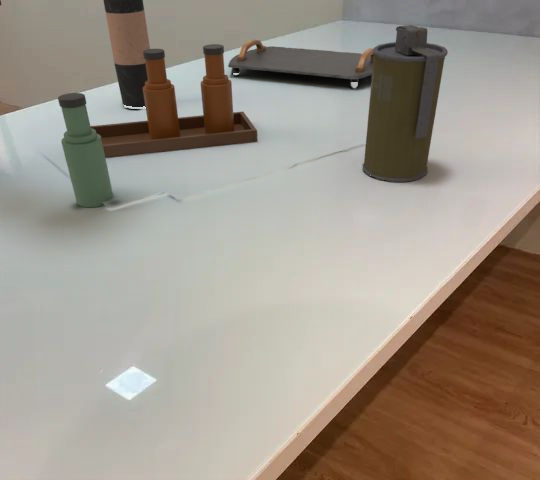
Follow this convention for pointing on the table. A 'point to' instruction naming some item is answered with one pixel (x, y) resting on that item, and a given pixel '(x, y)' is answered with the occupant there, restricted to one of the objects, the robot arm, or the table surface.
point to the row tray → (191, 137)
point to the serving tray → (304, 61)
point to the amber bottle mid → (159, 97)
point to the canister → (403, 105)
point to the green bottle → (84, 153)
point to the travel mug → (128, 47)
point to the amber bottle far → (216, 92)
